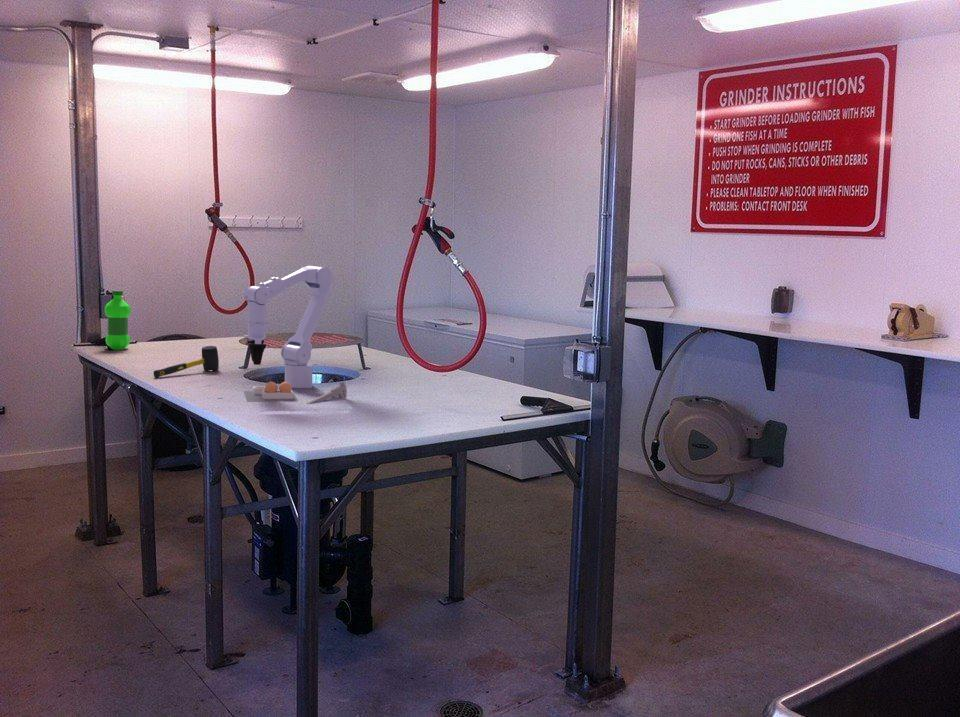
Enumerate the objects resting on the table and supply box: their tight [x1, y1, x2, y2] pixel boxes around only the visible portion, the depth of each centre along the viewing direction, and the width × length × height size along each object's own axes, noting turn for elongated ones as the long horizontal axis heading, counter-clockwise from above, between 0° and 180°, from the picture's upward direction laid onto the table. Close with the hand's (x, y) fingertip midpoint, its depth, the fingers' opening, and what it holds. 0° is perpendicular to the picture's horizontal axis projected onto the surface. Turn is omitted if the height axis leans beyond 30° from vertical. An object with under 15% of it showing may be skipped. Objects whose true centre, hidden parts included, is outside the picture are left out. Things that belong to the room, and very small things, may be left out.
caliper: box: [306, 381, 348, 405], centre depth 287 cm, size 20×1×6 cm, turn 151°
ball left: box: [278, 381, 293, 393], centre depth 287 cm, size 4×4×4 cm
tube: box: [252, 385, 266, 394], centre depth 292 cm, size 4×4×2 cm
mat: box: [243, 390, 299, 403], centre depth 289 cm, size 16×18×1 cm
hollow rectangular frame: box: [262, 389, 295, 399], centre depth 286 cm, size 10×4×2 cm, turn 108°
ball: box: [264, 381, 279, 393], centre depth 285 cm, size 4×4×4 cm
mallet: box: [153, 345, 220, 379], centre depth 327 cm, size 29×6×10 cm, turn 150°
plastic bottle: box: [104, 290, 132, 351], centre depth 379 cm, size 10×10×25 cm
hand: (256, 362), depth 295 cm, fingers open, 7 cm apart
